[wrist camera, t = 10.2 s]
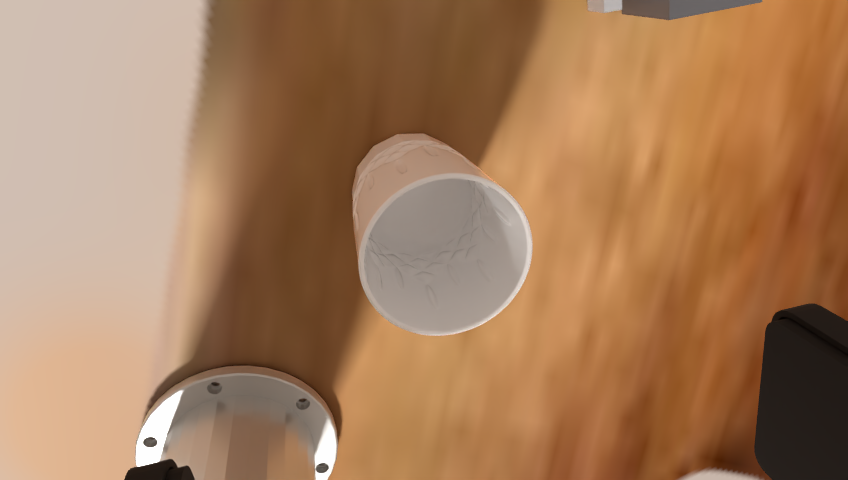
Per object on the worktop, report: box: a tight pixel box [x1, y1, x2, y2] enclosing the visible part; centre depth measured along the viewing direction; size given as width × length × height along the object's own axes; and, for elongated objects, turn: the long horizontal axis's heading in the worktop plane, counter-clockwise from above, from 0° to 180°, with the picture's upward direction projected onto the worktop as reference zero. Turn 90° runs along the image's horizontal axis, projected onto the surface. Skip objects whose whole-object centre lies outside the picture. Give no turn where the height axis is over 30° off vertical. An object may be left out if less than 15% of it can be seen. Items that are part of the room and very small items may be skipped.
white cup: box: [352, 133, 532, 336], centre depth 32 cm, size 8×8×10 cm
